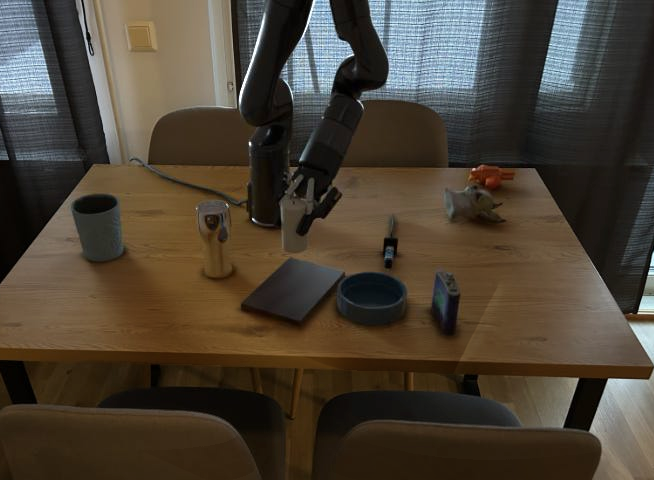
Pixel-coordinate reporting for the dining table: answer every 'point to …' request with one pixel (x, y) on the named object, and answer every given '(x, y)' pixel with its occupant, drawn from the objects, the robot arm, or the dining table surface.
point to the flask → (445, 301)
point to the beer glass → (215, 237)
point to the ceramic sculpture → (472, 204)
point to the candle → (292, 225)
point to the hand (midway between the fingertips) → (288, 230)
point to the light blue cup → (98, 226)
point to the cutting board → (293, 291)
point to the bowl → (371, 298)
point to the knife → (390, 249)
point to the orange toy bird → (490, 175)
